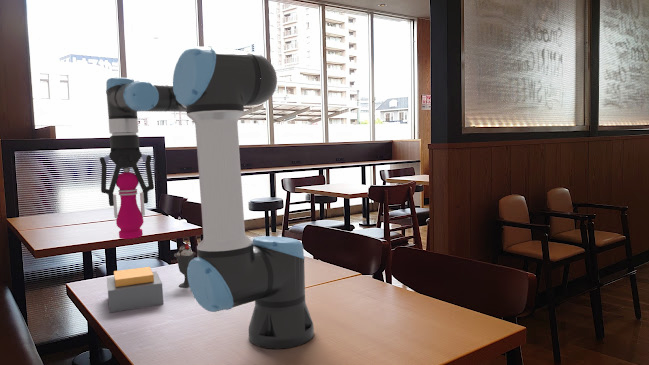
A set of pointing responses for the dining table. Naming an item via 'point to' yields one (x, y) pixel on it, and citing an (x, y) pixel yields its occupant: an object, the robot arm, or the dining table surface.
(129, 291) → the breaker box
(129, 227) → the pepper mill
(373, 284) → the dining table surface
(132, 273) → the button
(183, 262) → the sundae
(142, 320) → the dining table surface
